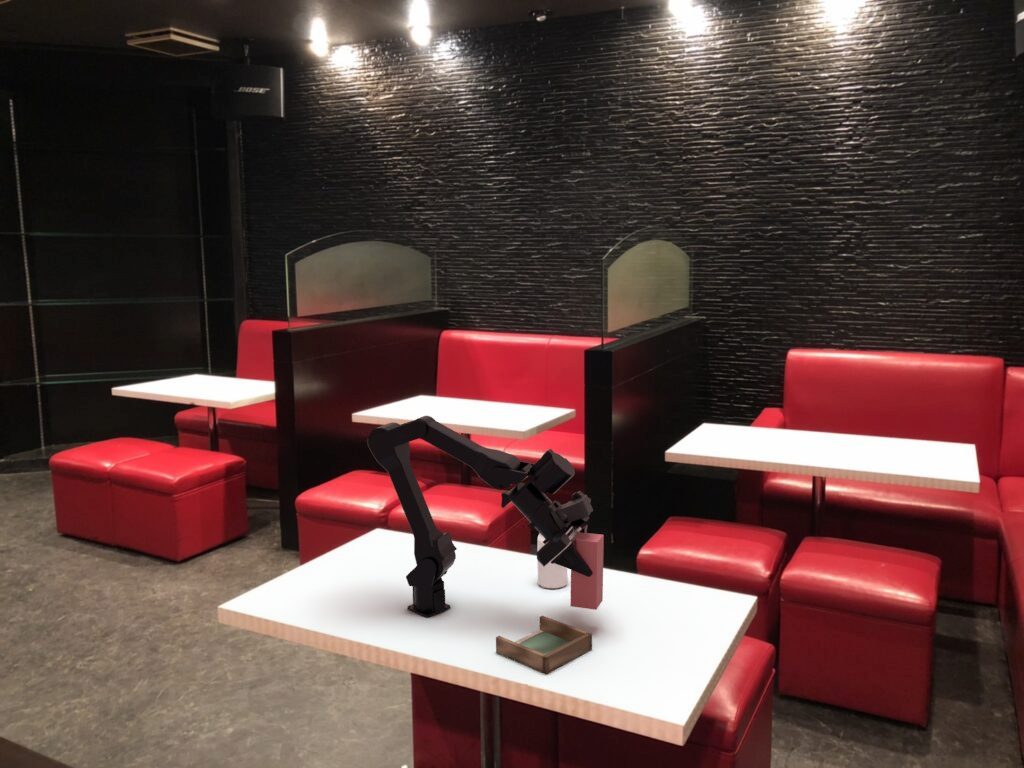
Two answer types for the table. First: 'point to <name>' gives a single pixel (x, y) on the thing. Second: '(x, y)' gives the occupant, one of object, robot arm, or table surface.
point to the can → (550, 572)
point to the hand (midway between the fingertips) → (594, 570)
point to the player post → (591, 588)
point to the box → (547, 646)
